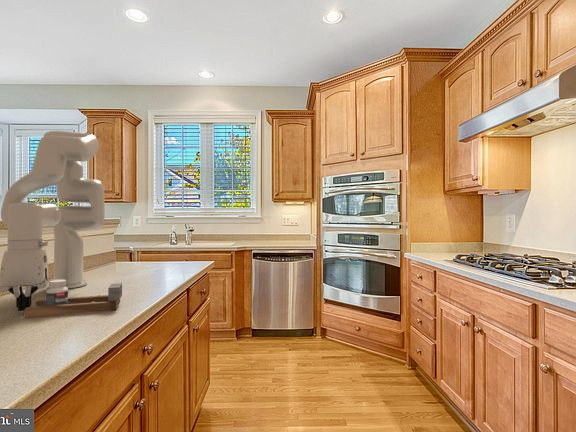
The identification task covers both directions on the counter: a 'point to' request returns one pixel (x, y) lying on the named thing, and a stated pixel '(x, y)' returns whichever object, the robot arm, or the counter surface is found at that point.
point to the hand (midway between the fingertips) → (23, 309)
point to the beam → (79, 304)
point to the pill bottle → (57, 293)
